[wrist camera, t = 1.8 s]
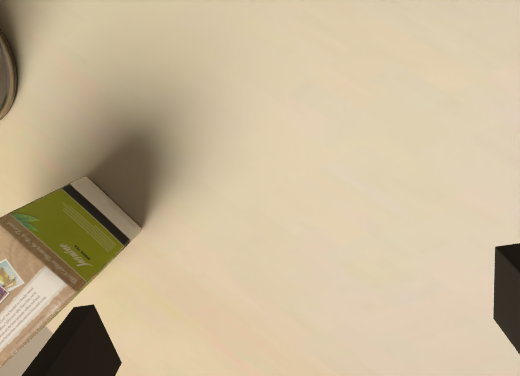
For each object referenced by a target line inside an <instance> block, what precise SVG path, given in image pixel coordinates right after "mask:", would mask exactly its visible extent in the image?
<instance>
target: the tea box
mask: <svg viewBox="0 0 520 376" xmlns="http://www.w3.org/2000/svg"><path fill="white" fill-rule="evenodd" d="M141 230H142V229H141V228H140V227H139V226H138V225H137V224H136V223H135V222H134V221H133V220H132V219H131V218H130V217H129V216H128V215H127V214H126V213H125V212H124V211H123V210H122V209H121V208H120V207H119V206H117V205H116V204H115V203H114V202H113V201H112V200H111V199H110V198H109V197H108V196H107V195H106V194H105V193H104V192H103V191H102V190H101V189H100V188H99V187H97V186H96V185H95V184H94V183H93V182H92V181H91V180H90V179H89V178H87V177H86V176H85V177H83V178H81V179H78V180H76V181H74V182H72V183H70V184H68V185H66V186H64V187H62V188H60V189H58V190H56V191H54V192H52V193H50V194H48V195H46V196H44V197H41V198H39V199H37V200H35V201H33V202H31V203H29V204H27V205H25V206H23V207H21V208H19V209H16V210H14V211H12V212H10V213H8V214H6V215H5V216H3V217H1V218H0V367H2V366H3V365H4V364H5V363H6V362H7V361H8V360H9V359H10V358H11V357H12V356H13V355H15V354H16V353H17V352H18V351H19V350H20V349H21V348H22V347H23V346H24V345H25V344H26V343H27V342H28V341H29V340H30V339H32V338H33V337H34V336H35V335H36V334H37V333H38V332H39V331H40V330H41V329H42V328H43V327H44V326H45V325H47V324H48V323H49V322H50V321H51V320H52V319H53V318H54V317H55V316H56V315H57V314H58V313H59V312H60V311H61V310H62V309H63V308H64V307H65V306H66V305H67V304H68V303H69V302H70V301H72V300H73V299H74V298H75V297H76V296H77V295H78V294H79V293H80V292H81V291H82V290H83V289H84V288H85V287H86V286H87V285H88V284H89V283H90V282H91V281H92V280H93V279H94V278H95V277H96V276H97V275H98V274H99V273H100V272H101V271H102V270H103V269H104V268H105V267H106V266H107V265H108V264H109V263H110V262H111V261H112V260H113V259H114V258H115V257H116V256H117V255H118V254H119V253H120V252H121V251H122V250H123V249H124V248H125V247H126V246H127V245H128V244H129V243H130V242H131V241H132V240H133V239H134V238H135V237H136V236H137V235H138V234H139V233H140V231H141Z"/></svg>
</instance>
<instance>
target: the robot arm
mask: <svg viewBox="0 0 520 376" xmlns="http://www.w3.org/2000/svg"><path fill="white" fill-rule="evenodd" d="M16 87H17V72H16V65H15V61H14V57H13V54H12V51H11V48H10V46H9V44H8V41H7V39H6V38H5V36H4V34H3V32H2V31H1V29H0V120H1V119H2V118H3V117H4V116H5V115H6V113H7V112H8V111H9V109H10V107H11V105H12V103H13V100H14V97H15V93H16ZM494 320H495V321H496V323H497V324H498V325H499V327H500V328H501V329H502V331H503V332H504V333H505V335H506V336H507V338H508V339H509V340H510V342H511V343H512V344H513V346H514V347H515V348H516V350H517V351H518V353H519V354H520V243H519V244H512V245H505V246H498V247H495V278H494ZM121 363H122V362H121V360H120V358H119V356H118V354H117V352H116V350H115V348H114V346H113V344H112V341H111V339H110V337H109V335H108V333H107V331H106V329H105V327H104V325H103V323H102V321H101V319H100V316H99V314H98V312H97V310H96V308H95V306H94V305H87V306H80V307H74V308H73V309H72V310H71V312H70V313H69V314H68V316H67V317H66V318H65V320H64V321H63V322H62V323H61V325H60V326H59V327H58V329H57V330H56V331H55V333H54V334H53V335H52V337H51V338H50V339H49V340H48V342H47V343H46V345H45V346H44V347H43V348H42V350H41V351H40V352H39V354H38V355H37V357H36V358H35V359H34V360H33V361H32V363H31V364H30V365H29V367H28V368H27V369H26V371H25V372H24V373H23V375H22V376H115V375H116V373H117V371H118V369H119V367H120V365H121Z"/></svg>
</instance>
